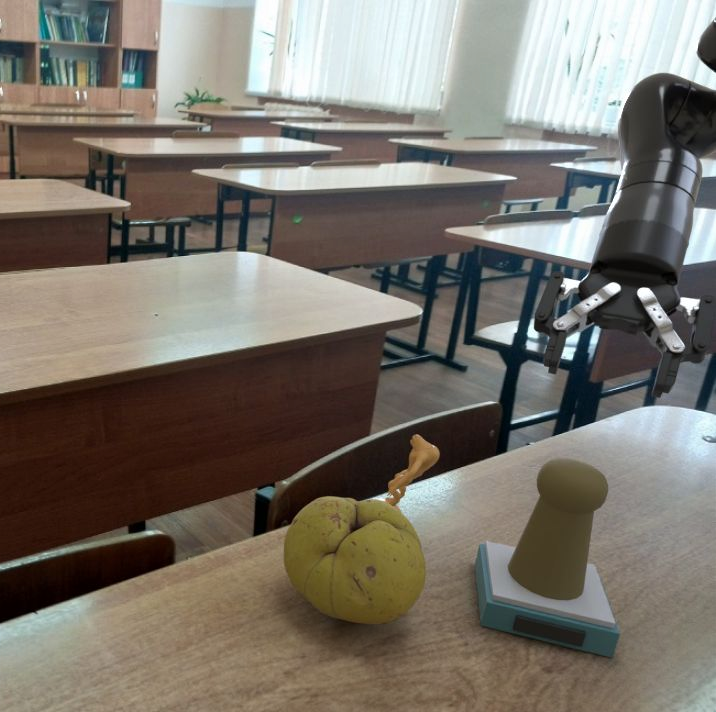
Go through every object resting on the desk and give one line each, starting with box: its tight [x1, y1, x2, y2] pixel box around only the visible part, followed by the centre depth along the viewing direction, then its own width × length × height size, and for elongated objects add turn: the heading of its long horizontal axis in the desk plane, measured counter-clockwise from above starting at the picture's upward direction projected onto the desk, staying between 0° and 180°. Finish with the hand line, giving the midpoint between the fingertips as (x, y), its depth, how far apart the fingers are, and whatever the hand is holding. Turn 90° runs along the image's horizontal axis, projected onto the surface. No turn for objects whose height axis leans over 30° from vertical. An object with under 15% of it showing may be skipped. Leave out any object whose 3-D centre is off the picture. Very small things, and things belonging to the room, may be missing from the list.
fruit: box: [283, 495, 427, 625], centre depth 62 cm, size 11×12×10 cm
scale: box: [474, 540, 621, 659], centre depth 64 cm, size 10×9×3 cm
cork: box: [508, 457, 609, 600], centre depth 62 cm, size 6×6×11 cm
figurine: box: [375, 434, 441, 514], centre depth 71 cm, size 8×6×12 cm
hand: (603, 381), depth 67 cm, fingers open, 8 cm apart
